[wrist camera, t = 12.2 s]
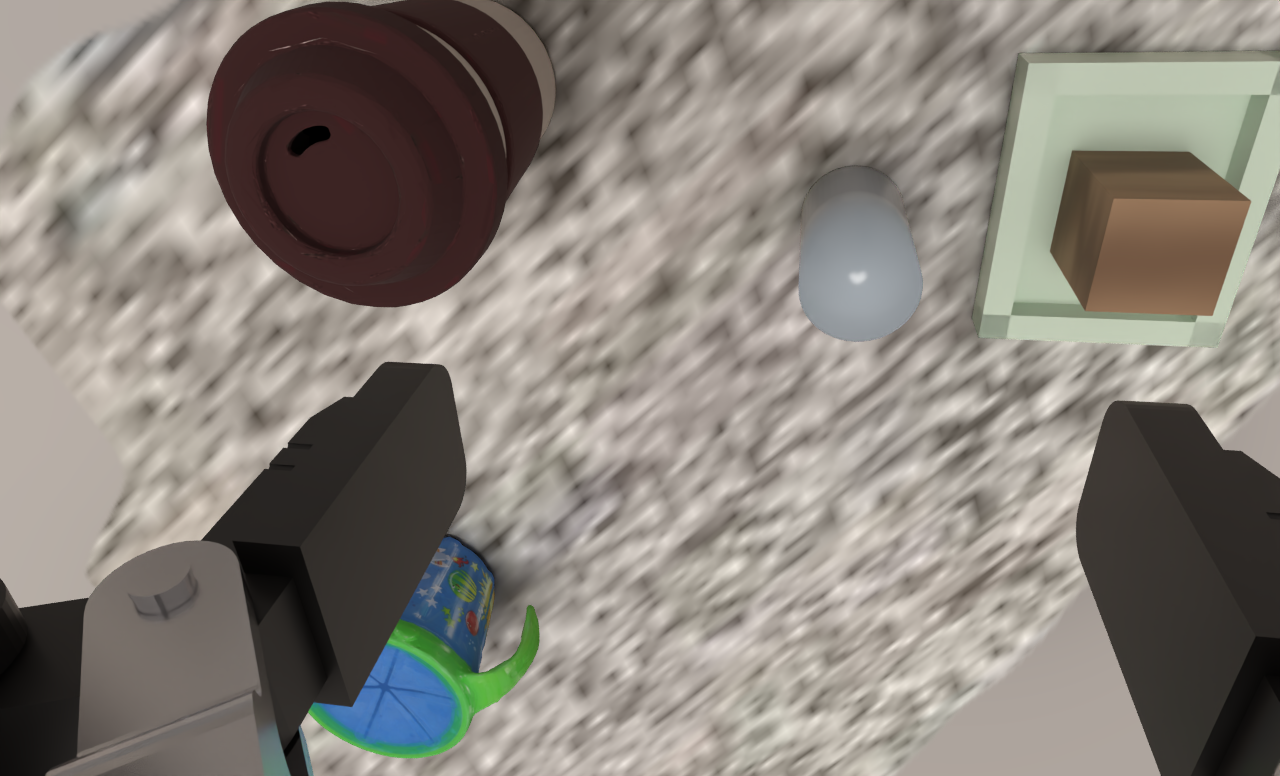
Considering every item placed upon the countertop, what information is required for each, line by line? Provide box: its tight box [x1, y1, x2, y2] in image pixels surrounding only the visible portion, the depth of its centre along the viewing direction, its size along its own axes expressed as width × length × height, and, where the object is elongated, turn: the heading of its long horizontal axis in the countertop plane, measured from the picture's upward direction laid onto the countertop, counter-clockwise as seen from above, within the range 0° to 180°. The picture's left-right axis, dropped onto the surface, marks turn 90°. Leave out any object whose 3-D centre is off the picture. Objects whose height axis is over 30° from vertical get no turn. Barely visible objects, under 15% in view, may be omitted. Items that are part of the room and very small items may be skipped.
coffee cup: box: [207, 0, 556, 307], centre depth 33 cm, size 10×10×15 cm
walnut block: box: [1050, 150, 1251, 316], centre depth 34 cm, size 4×4×6 cm
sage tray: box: [972, 51, 1280, 348], centre depth 37 cm, size 12×10×2 cm
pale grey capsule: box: [799, 166, 923, 342], centre depth 36 cm, size 5×5×8 cm
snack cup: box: [308, 537, 539, 758], centre depth 52 cm, size 16×10×10 cm
